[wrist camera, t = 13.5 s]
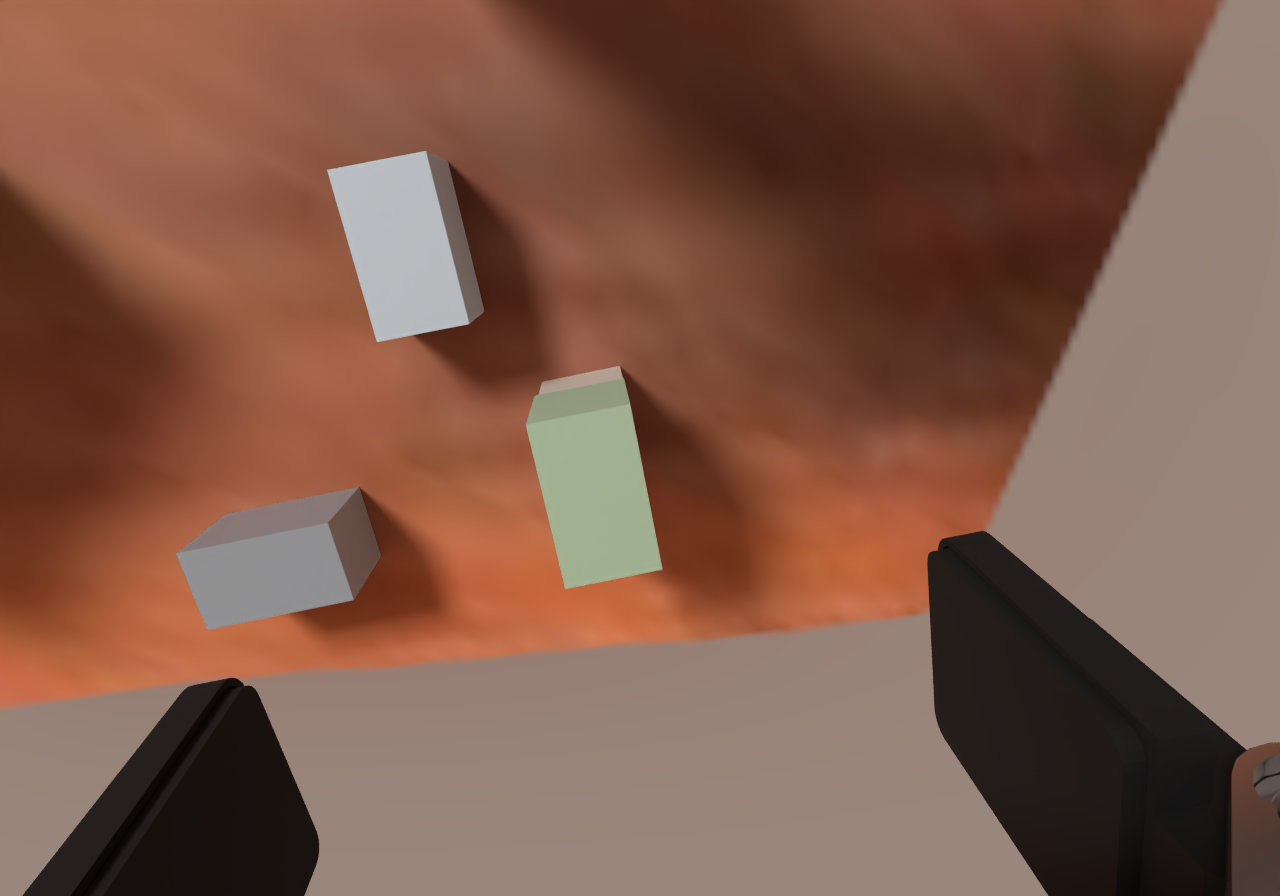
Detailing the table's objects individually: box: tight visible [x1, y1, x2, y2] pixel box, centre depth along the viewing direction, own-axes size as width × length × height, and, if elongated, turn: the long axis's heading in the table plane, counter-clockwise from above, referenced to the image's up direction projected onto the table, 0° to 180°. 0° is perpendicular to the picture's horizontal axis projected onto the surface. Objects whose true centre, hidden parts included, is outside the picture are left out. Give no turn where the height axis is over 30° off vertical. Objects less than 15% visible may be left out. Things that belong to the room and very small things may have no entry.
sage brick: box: [526, 378, 662, 589], centre depth 32 cm, size 7×4×5 cm, turn 11°
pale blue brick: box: [327, 151, 484, 342], centre depth 33 cm, size 7×4×5 cm, turn 10°
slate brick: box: [176, 487, 381, 630], centre depth 37 cm, size 7×4×5 cm, turn 101°
